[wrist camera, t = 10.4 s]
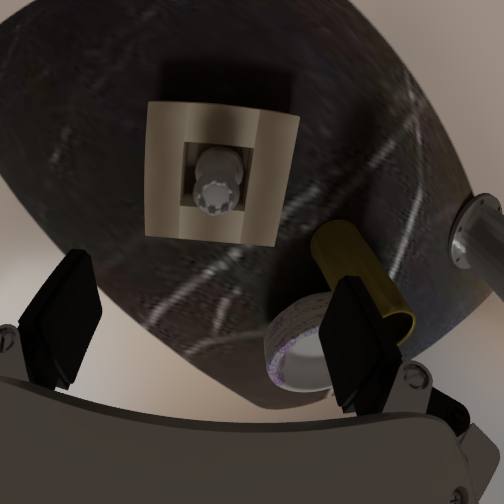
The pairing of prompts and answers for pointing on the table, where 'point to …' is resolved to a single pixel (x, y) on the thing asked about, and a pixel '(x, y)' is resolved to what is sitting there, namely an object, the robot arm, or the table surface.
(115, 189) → the table surface
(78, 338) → the robot arm
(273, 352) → the paper bowls
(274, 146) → the socket block
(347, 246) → the vase
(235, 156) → the rook chess piece
